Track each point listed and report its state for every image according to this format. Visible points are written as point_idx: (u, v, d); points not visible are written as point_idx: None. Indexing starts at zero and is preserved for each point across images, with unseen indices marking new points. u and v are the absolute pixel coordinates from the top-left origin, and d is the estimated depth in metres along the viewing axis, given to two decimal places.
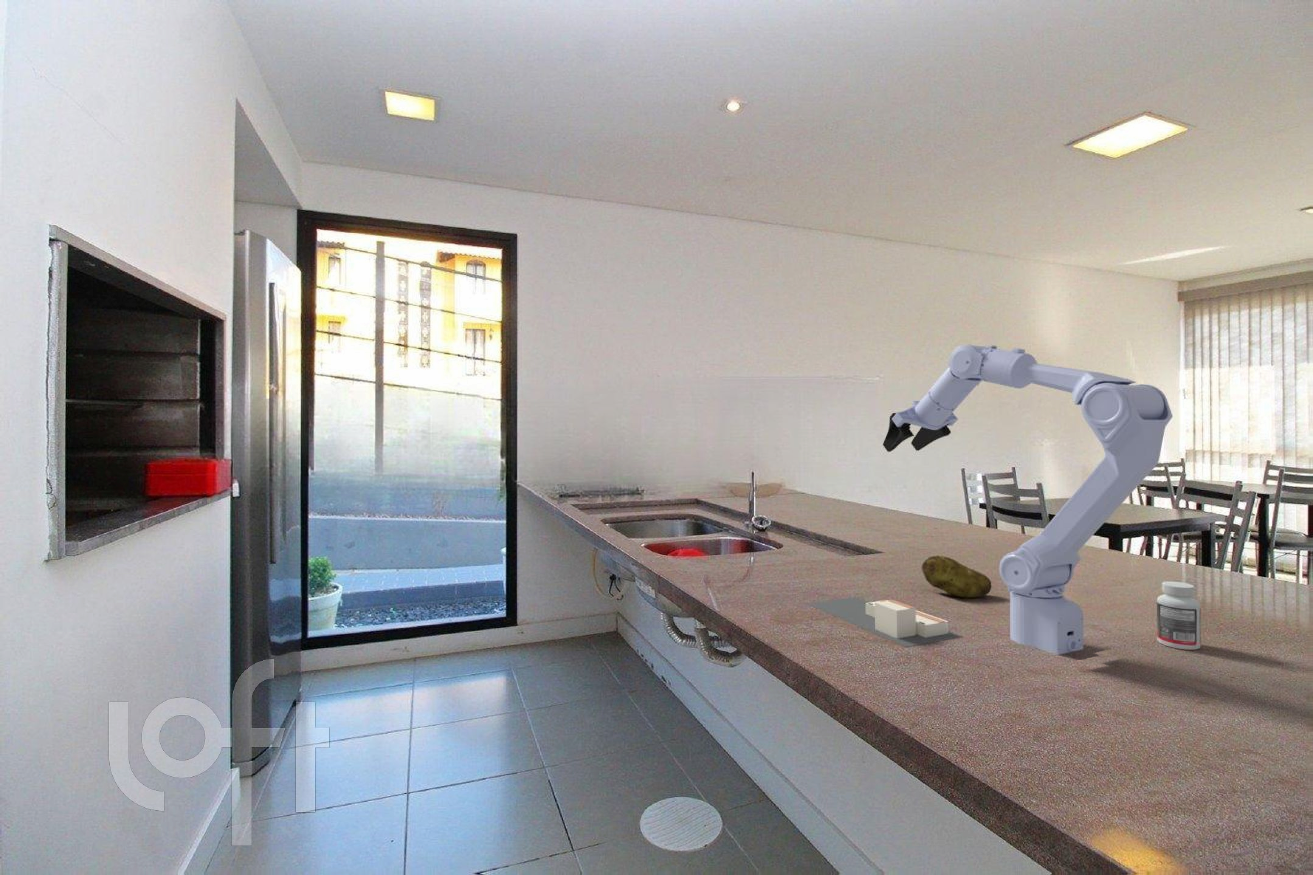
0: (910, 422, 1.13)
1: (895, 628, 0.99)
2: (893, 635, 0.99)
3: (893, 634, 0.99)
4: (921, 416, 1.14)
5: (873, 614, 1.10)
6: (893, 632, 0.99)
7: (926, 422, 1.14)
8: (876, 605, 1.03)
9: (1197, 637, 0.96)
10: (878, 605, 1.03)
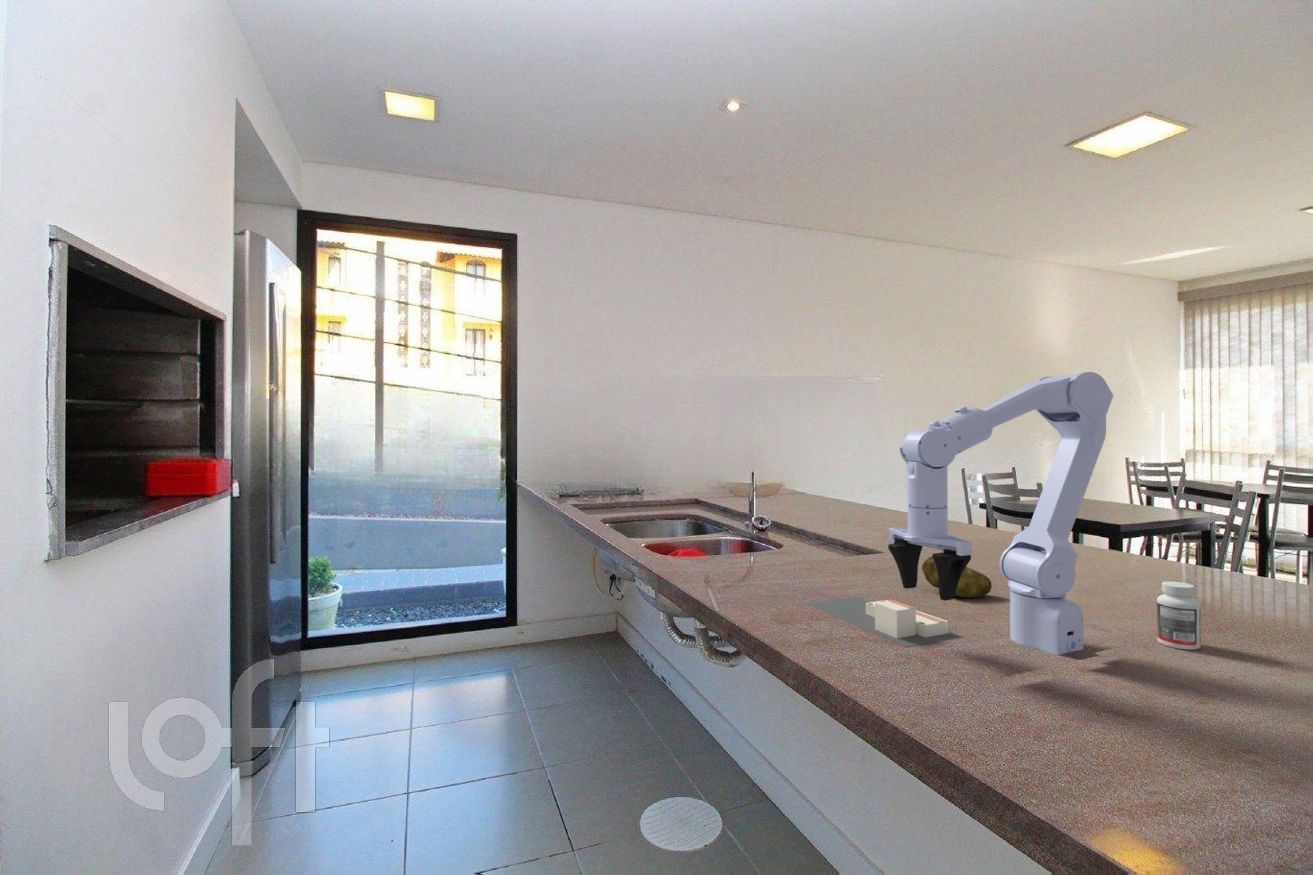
0: None
1: (895, 628, 0.99)
2: (893, 635, 0.99)
3: (893, 634, 0.99)
4: (945, 532, 0.93)
5: (873, 614, 1.10)
6: (893, 632, 0.99)
7: (947, 534, 0.94)
8: (876, 605, 1.03)
9: (1197, 637, 0.96)
10: (878, 605, 1.03)
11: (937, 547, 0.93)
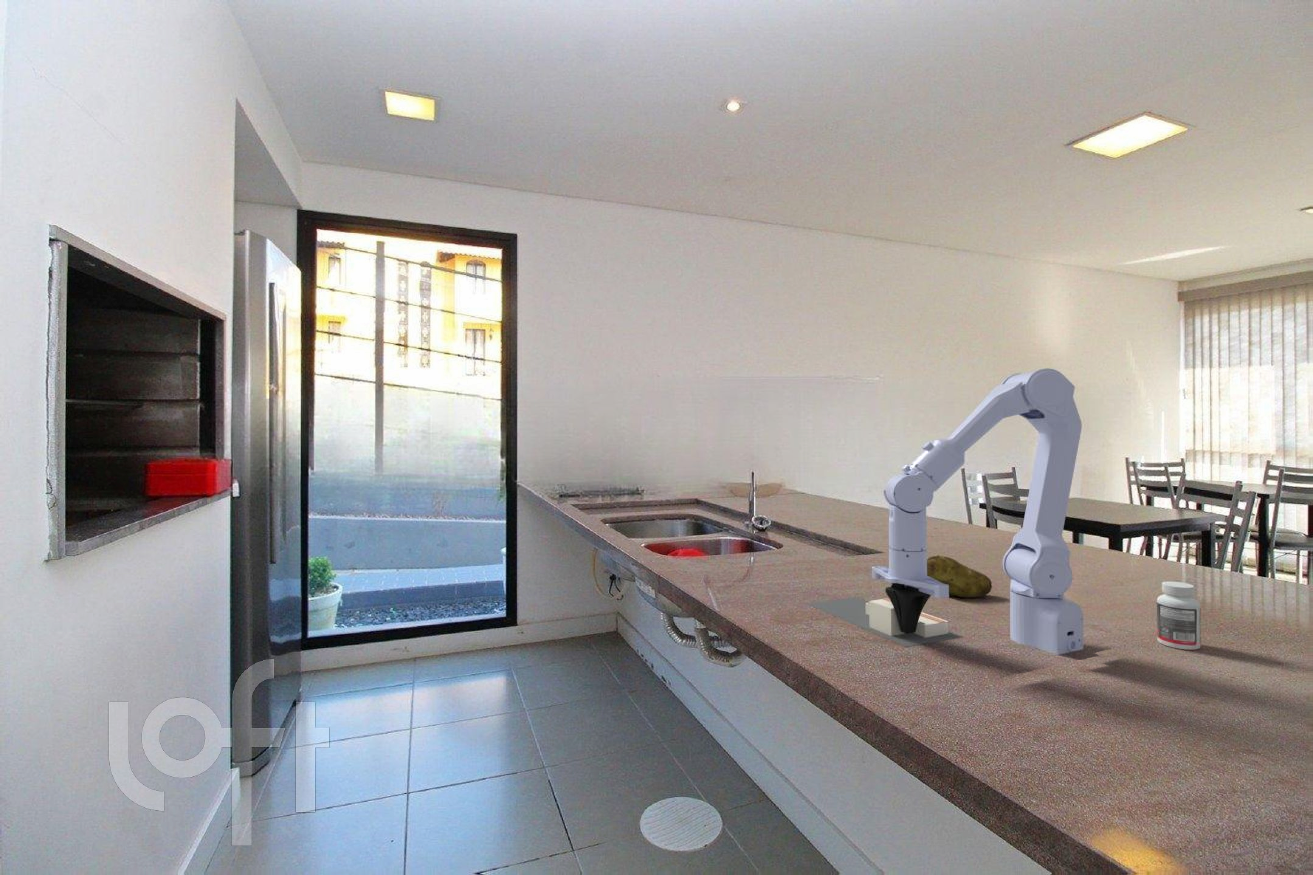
0: None
1: (889, 626, 1.00)
2: (887, 633, 1.01)
3: (887, 632, 1.01)
4: (924, 574, 0.97)
5: None
6: (887, 630, 1.01)
7: None
8: (870, 603, 1.04)
9: (1197, 637, 0.96)
10: (872, 603, 1.04)
11: (916, 588, 0.97)
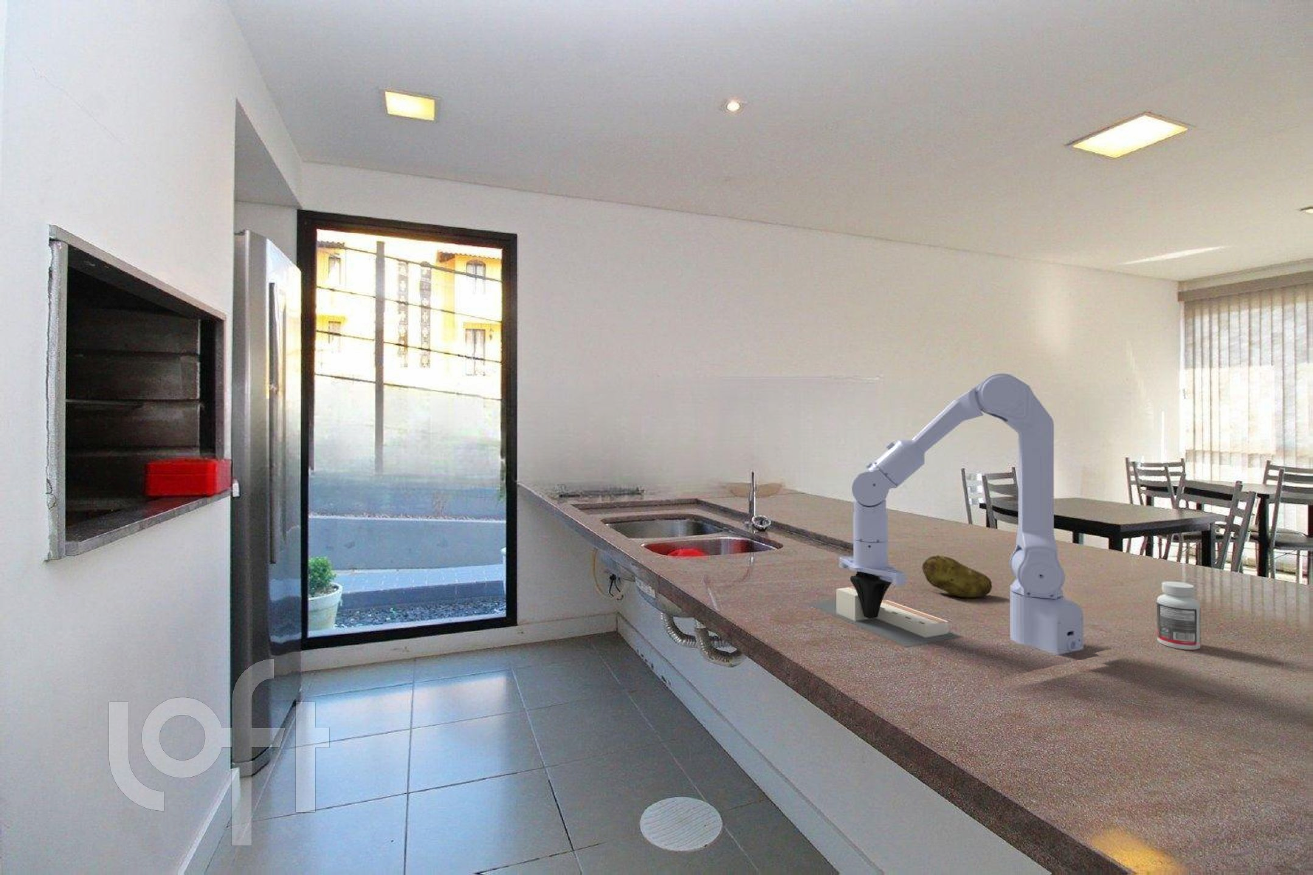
0: None
1: (853, 611, 1.08)
2: (852, 618, 1.09)
3: (852, 617, 1.09)
4: (885, 563, 1.05)
5: None
6: (852, 615, 1.09)
7: (887, 565, 1.06)
8: (837, 591, 1.12)
9: (1197, 637, 0.96)
10: (839, 591, 1.12)
11: (878, 576, 1.05)
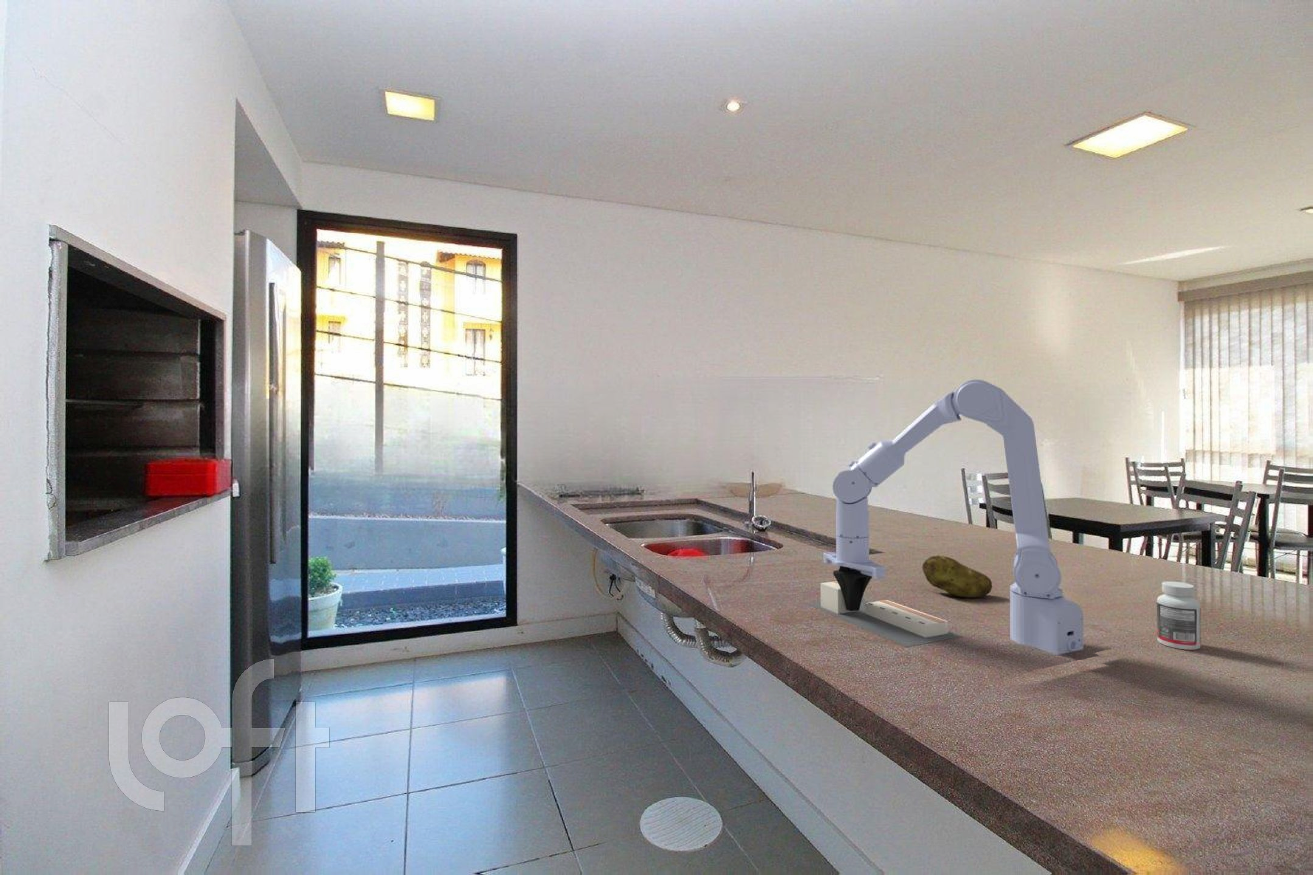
0: None
1: (836, 605, 1.13)
2: (835, 611, 1.13)
3: (835, 610, 1.13)
4: (866, 558, 1.09)
5: (873, 614, 1.10)
6: (835, 608, 1.13)
7: None
8: (821, 585, 1.16)
9: (1197, 637, 0.96)
10: (823, 585, 1.16)
11: (859, 571, 1.09)
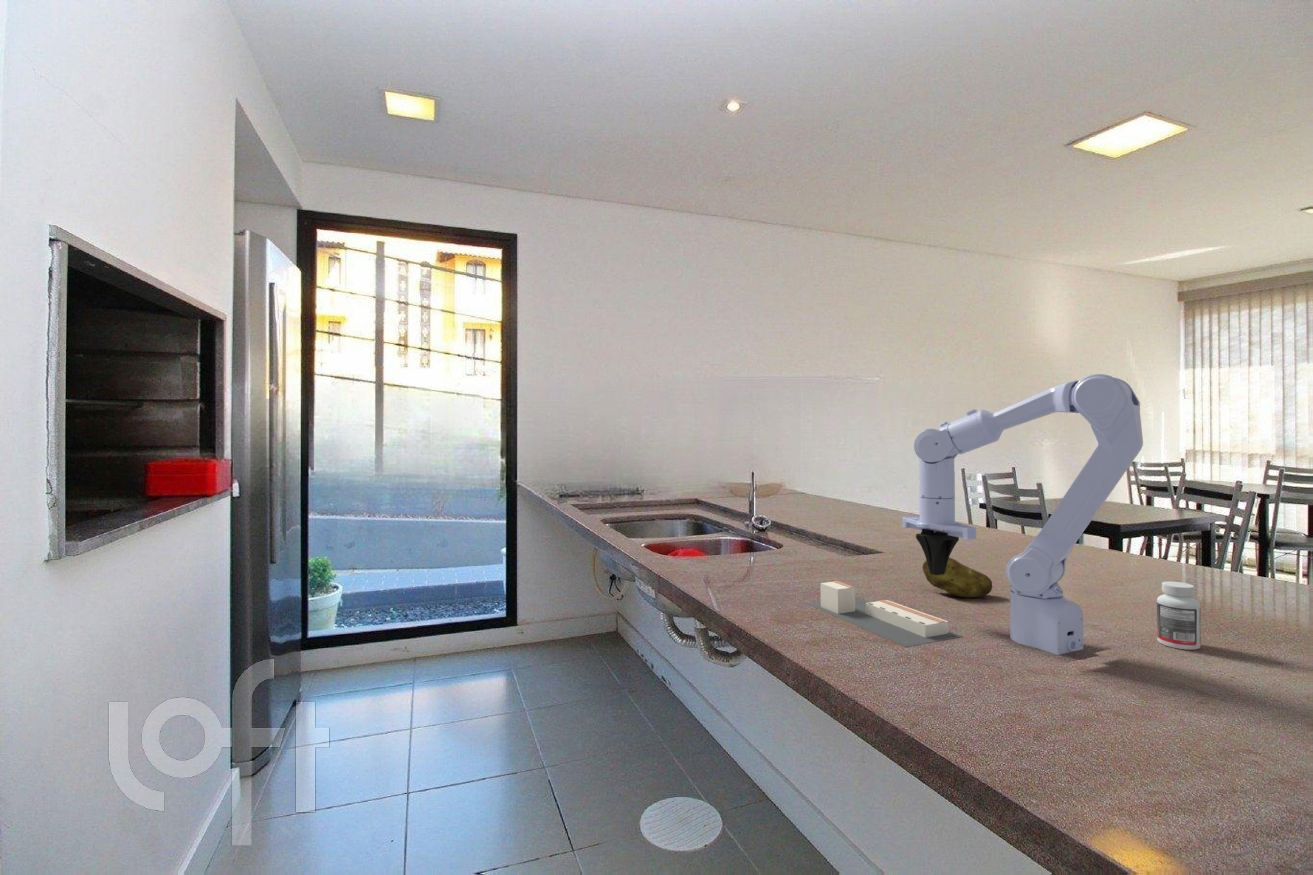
0: None
1: (836, 605, 1.13)
2: (835, 611, 1.13)
3: (835, 610, 1.13)
4: (952, 520, 1.06)
5: (873, 614, 1.10)
6: (835, 608, 1.13)
7: None
8: (821, 585, 1.16)
9: (1197, 637, 0.96)
10: (823, 585, 1.16)
11: (945, 533, 1.06)
